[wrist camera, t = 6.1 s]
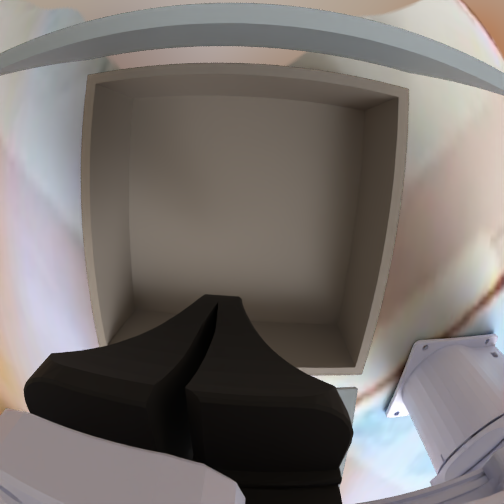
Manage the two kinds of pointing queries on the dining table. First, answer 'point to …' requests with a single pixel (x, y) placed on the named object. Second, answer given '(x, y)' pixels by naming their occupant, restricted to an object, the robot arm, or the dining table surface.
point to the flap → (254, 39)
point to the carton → (244, 201)
